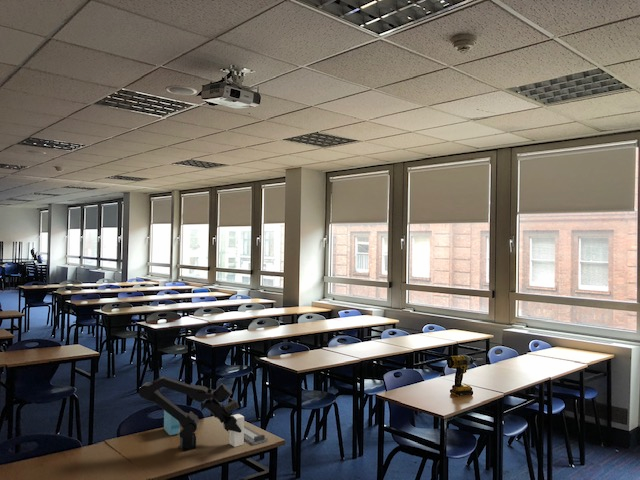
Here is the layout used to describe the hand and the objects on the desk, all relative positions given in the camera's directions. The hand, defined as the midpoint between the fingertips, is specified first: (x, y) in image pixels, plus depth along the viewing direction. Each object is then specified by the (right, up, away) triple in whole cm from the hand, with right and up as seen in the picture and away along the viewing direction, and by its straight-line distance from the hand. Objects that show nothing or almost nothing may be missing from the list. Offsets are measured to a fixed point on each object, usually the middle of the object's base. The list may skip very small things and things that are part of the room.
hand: (239, 429), depth 234 cm
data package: (-37, -7, +15) cm, 40 cm away
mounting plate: (+3, -7, +9) cm, 12 cm away
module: (-1, -7, -1) cm, 7 cm away
